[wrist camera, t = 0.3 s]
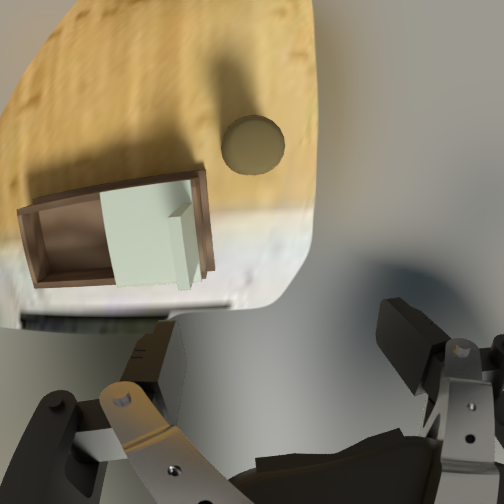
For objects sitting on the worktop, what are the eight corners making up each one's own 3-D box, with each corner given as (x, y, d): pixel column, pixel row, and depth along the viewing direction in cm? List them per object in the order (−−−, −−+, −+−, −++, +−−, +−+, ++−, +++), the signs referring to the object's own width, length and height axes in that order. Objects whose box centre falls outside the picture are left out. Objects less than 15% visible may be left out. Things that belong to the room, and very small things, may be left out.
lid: (101, 191, 27) (66, 202, 20) (190, 179, 28) (177, 185, 21) (118, 285, 31) (92, 318, 23) (202, 279, 31) (194, 314, 24)
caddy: (36, 198, 31) (15, 204, 27) (205, 170, 33) (201, 171, 28) (53, 279, 35) (36, 293, 30) (215, 267, 36) (213, 283, 32)
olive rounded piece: (221, 124, 31) (217, 106, 21) (274, 125, 32) (294, 108, 21) (221, 175, 33) (216, 181, 22) (273, 175, 33) (292, 181, 23)
